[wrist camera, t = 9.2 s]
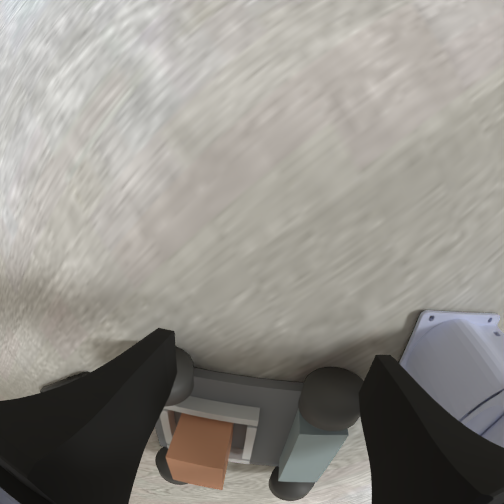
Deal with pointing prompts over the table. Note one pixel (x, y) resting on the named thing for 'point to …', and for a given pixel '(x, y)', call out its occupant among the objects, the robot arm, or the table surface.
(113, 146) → the table surface
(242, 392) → the chassis
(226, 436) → the block
